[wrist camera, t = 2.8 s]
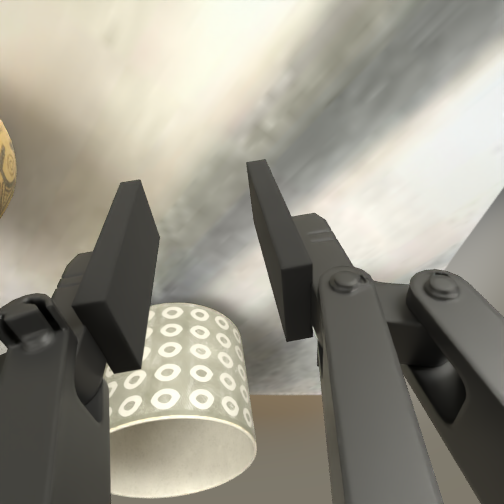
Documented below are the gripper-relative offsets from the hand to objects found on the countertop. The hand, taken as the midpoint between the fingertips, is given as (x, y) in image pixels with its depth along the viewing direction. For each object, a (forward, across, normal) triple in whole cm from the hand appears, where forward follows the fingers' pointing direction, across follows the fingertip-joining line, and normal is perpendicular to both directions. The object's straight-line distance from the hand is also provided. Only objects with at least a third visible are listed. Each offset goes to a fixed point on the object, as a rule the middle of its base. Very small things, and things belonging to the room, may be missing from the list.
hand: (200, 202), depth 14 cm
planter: (+23, -10, -33) cm, 41 cm away
